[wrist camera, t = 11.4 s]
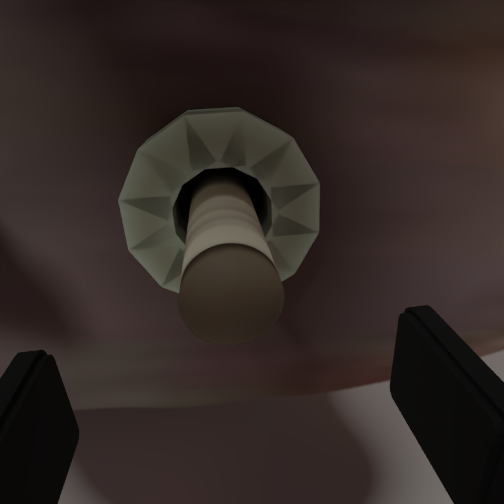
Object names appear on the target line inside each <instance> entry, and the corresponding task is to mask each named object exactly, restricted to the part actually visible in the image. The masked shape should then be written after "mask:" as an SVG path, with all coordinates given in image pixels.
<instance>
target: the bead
mask: <svg viewBox="0 0 504 504" xmlns="http://www.w3.org/2000/svg"><path fill="white" fill-rule="evenodd" d="M226 167H234V168H236V169H238V170H240V171H242V172H244V173H246V174H248V175H250V176H253V177H255V178H257V179H258V181H259V182H260V184H261V185H262V187H263V202H264V206H263V208H262V210H261V212H260V214H259V216H258V220H259V223H260V225H261V228H262V231H263V233H264V236H265V239H266V241H267V244H268V247H269V250H270V252H271V255H272V258H273V260H274V263H275V266H276V268H277V271H278V274H279V277H280V279H281V282H282V281H284V280H285V279H287V278H289V277H290V276H292V275H293V274H295V272H296V271H297V269H298V267H299V266H300V264H301V262H302V261H303V259H304V257H305V255H306V254H307V252H308V250H309V249H310V247H311V245H312V244H313V242H314V240H315V239H316V237H317V235H318V234H319V206H320V183H319V181H318V179H317V177H316V176H315V174H314V172H313V171H312V169H311V167H310V166H309V164H308V162H307V160H306V159H305V157H304V155H303V154H302V152H301V150H300V148H299V147H298V145H297V143H296V142H295V140H294V138H293V137H291V136H290V135H288V134H287V133H285V132H284V131H282V130H281V129H279V128H277V127H275V126H273V125H271V124H269V123H268V122H266V121H264V120H262V119H260V118H258V117H256V116H254V115H252V114H251V113H249V112H247V111H245V110H243V109H241V108H239V107H226V108H211V109H196V110H187V111H186V112H184V113H183V114H181V115H180V116H179V117H177V118H176V119H175V120H173V121H172V122H170V123H169V124H168V125H166V126H165V127H164V128H162V129H161V130H159V131H158V132H157V133H155V134H154V135H153V136H151V137H150V138H149V139H147V140H146V141H145V142H144V143H143V144H142V145H141V146H140V147H139V148H138V150H137V152H136V155H135V157H134V160H133V163H132V165H131V168H130V171H129V173H128V176H127V178H126V181H125V184H124V186H123V189H122V191H121V194H120V197H119V199H118V202H119V207H120V211H121V216H122V221H123V226H124V231H125V236H126V241H127V245H128V250H129V251H130V253H131V254H132V255H133V256H134V257H135V258H136V259H137V260H138V261H139V263H140V264H141V265H142V266H143V267H144V268H145V269H146V270H147V271H148V272H149V274H150V275H151V276H152V277H153V278H154V279H155V280H156V281H157V282H158V284H159V285H160V286H161V287H163V288H166V289H168V290H171V291H174V292H177V293H179V290H180V282H181V274H182V267H183V259H184V251H185V243H186V235H187V228H188V223H187V222H186V221H185V219H184V218H183V217H182V216H181V214H180V212H179V204H178V197H177V196H178V194H179V192H180V189H181V187H182V185H183V184H184V183H186V182H187V181H189V180H190V179H192V178H193V177H194V176H196V175H197V174H199V173H200V172H202V171H203V170H204V169H213V168H226Z"/></svg>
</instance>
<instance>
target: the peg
mask: <svg viewBox="0 0 504 504" xmlns="http://www.w3.org/2000/svg"><path fill="white" fill-rule="evenodd" d="M284 300H285V295H284V288H283V285H282V282H281V279H280V277H279V274H278V271H277V268H276V266H275V263H274V260H273V258H272V255H271V252H270V250H269V247H268V244H267V241H266V239H265V236H264V233H263V231H262V228H261V225H260V223H259V220H258V217H257V215H256V212H255V209H254V206H253V204H252V201H251V198H250V196H249V193H248V190H247V188H246V185H245V184H244V182H243V181H242V180H241V179H240V178H239V177H238V176H237V175H236V174H234V173H232V172H229V171H225V170H215V171H211V172H208V173H206V174H204V175H203V176H202V177H200V178H199V180H198V181H197V182H196V184H195V185H194V188H193V191H192V196H191V204H190V212H189V220H188V228H187V235H186V243H185V251H184V259H183V267H182V274H181V282H180V290H179V299H178V304H179V311H180V314H181V317H182V319H183V321H184V323H185V324H186V326H187V327H188V328H189V329H190V330H191V331H192V332H193V333H194V334H195V335H197V336H198V337H200V338H201V339H203V340H205V341H208V342H210V343H214V344H218V345H228V346H231V345H240V344H245V343H248V342H251V341H254V340H256V339H258V338H260V337H261V336H263V335H264V334H266V333H267V332H268V331H269V330H270V329H271V328H272V327H273V326H274V325H275V324H276V322H277V321H278V319H279V317H280V315H281V313H282V310H283V307H284Z"/></svg>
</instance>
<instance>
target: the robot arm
mask: <svg viewBox="0 0 504 504" xmlns="http://www.w3.org/2000/svg"><path fill="white" fill-rule="evenodd" d="M390 392H391V395H392V398H393V400H394V402H395V403H396V405H397V407H398V408H399V410H400V412H401V414H402V415H403V417H404V419H405V421H406V422H407V424H408V426H409V427H410V429H411V431H412V433H413V434H414V436H415V437H416V439H417V441H418V443H419V444H420V446H421V448H422V450H423V451H424V453H425V455H426V457H427V458H428V460H429V462H430V464H431V465H432V467H433V469H434V470H435V472H436V474H437V475H438V477H439V479H440V481H441V482H442V484H443V486H444V488H445V489H446V491H447V492H448V494H449V496H450V498H451V500H452V501H453V503H454V504H504V382H503V381H502V380H501V379H500V378H499V377H498V376H497V375H496V374H495V373H494V372H493V371H492V370H491V369H490V368H489V367H488V366H487V365H486V364H485V362H483V360H482V359H481V358H480V357H479V356H478V355H477V354H476V353H475V352H474V351H473V350H472V349H471V348H470V347H469V346H468V345H467V344H466V343H465V342H464V341H463V340H462V339H461V338H460V337H459V336H458V335H457V334H456V333H455V331H454V330H453V329H452V328H451V327H450V326H449V325H448V324H447V323H446V322H445V321H444V320H443V319H442V318H441V317H440V316H439V315H438V314H437V313H436V312H435V311H434V310H433V309H432V308H431V307H430V306H427V305H425V306H416V307H408V308H406V309H405V312H404V313H402V314H400V316H399V320H398V328H397V335H396V343H395V350H394V358H393V365H392V373H391V380H390ZM78 440H79V428H78V424H77V421H76V419H75V416H74V413H73V410H72V407H71V404H70V401H69V399H68V396H67V393H66V390H65V387H64V384H63V382H62V379H61V376H60V373H59V370H58V367H57V364H56V362H55V359H54V357H53V356H52V355H47V353H46V352H45V351H44V350H36V351H28V352H20V353H18V354H17V355H16V356H15V357H14V359H13V360H12V362H11V363H10V365H9V366H8V368H7V369H6V371H5V372H4V374H3V376H2V377H1V379H0V504H58V501H59V498H60V495H61V491H62V489H63V486H64V483H65V480H66V477H67V473H68V471H69V468H70V465H71V461H72V458H73V456H74V452H75V449H76V446H77V443H78Z"/></svg>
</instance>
